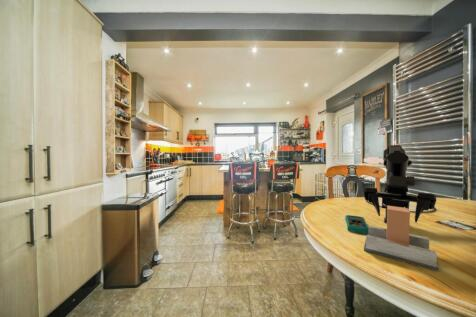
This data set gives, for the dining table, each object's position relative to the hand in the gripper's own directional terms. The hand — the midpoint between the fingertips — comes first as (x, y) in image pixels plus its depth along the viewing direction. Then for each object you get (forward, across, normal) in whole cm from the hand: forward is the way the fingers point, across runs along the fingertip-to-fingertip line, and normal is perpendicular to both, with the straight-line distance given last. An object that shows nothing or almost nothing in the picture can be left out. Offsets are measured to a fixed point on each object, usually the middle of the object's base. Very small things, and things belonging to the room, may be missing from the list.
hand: (396, 218), depth 60 cm
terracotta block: (+9, 0, +2) cm, 9 cm away
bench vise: (+7, 0, +6) cm, 9 cm away
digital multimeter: (0, -12, +14) cm, 19 cm away
